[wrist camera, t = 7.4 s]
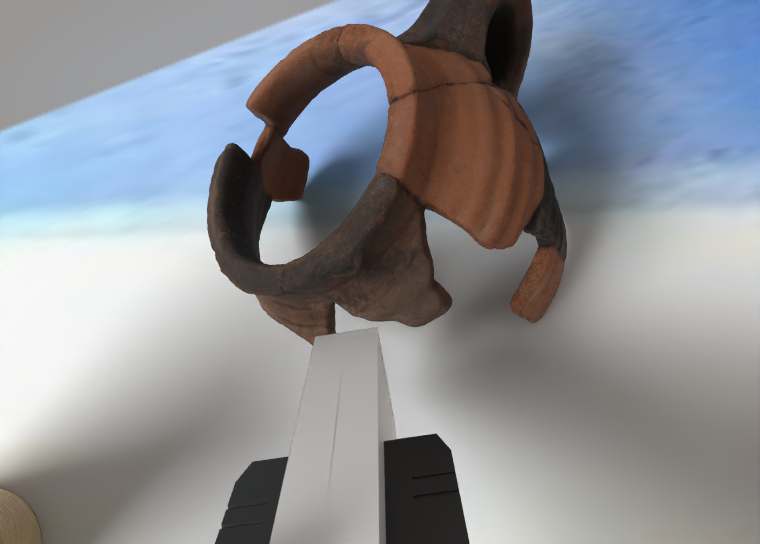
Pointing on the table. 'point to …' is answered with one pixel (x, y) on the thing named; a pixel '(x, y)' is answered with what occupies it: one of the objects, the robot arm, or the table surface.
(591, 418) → the table surface
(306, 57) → the broken brown pot
